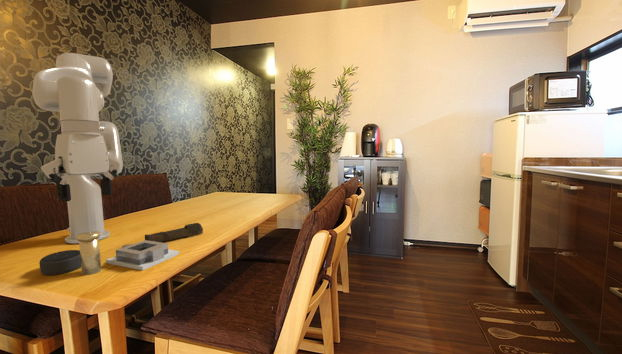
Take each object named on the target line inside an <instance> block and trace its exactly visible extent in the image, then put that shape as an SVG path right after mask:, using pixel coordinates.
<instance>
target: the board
mask: <svg viewBox="0 0 622 354" xmlns="http://www.w3.org/2000/svg"><path fill="white" fill-rule="evenodd" d="M178 254H179V255H180V250H174V249H169V248H168V254H166V255H164V258H162V259H159V260H157V261H155V262H150V261H149V262H147V263H144V264H142V265H136V264H131V263H126V262H121V261H117V260H116V255H115V256H112V257H110V258H107V259H106V260H105V263H106V264H108V265H114V266H119V267H124V268H129V269H135V270H139V271H145V270H146V269H149V268H152V267H154V266H156V265H158V264H161V263H163V262H165V261H168V260H170V259H172V258H174V257H176V255H177V256H178Z"/></svg>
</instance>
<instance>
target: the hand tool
mask: <svg viewBox="0 0 622 354" xmlns="http://www.w3.org/2000/svg"><path fill="white" fill-rule="evenodd" d="M203 233H204V229H203V226H202V225H201V223H199V222H194V223H188V224H185V225H184V226H183V227H180V228H176V229H171V230H167V231H159V232H154V233H151V234H144V240H148V241H155V242H161V243H164V242H167V241H172V240H176V239H180V238H181V239H182V238H188V239H189V238H194V237H196V236H199V235H201V234H203Z"/></svg>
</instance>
